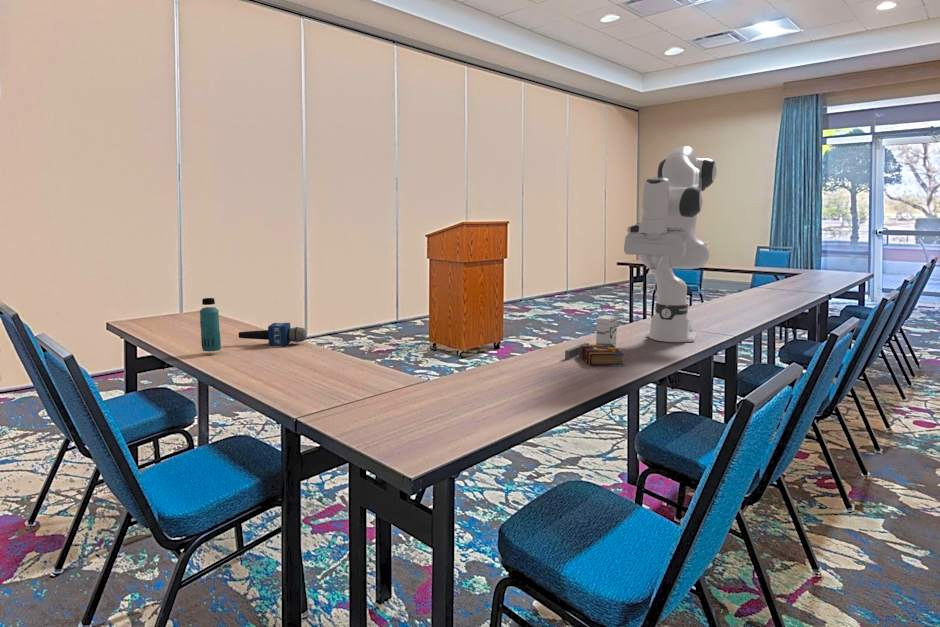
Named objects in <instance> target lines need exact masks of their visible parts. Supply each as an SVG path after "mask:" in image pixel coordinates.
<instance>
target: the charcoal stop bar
mask: <svg viewBox="0 0 940 627" xmlns="http://www.w3.org/2000/svg"><path fill="white" fill-rule="evenodd" d="M581 345H590V343H589V342H584V343H581V344H577V345H576V346H573V347H570V348H568V349H566V350H564V360H568V359H569V360H571V358H572V359H573V357H574V358H576V357H579V356H581V355H580V354H581ZM578 355H579V356H578Z"/></svg>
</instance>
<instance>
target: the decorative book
mask: <svg viewBox="0 0 940 627" xmlns="http://www.w3.org/2000/svg"><path fill="white" fill-rule="evenodd" d="M580 345H581V344H580ZM624 355H625V353H624V352H622V351H621V350H620V349H619V347H615V346H614V345H613V344H601V345H596V344H589V345H581V355H580V356H581V359H582V360H584V361H585V363H586V364H587V365H589V366H612V367H616V366H617V367H619V366H618V365H623V366H624V363H623V358H622V357H623V356H624ZM614 365H615V366H614Z"/></svg>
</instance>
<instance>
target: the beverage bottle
mask: <svg viewBox="0 0 940 627" xmlns="http://www.w3.org/2000/svg"><path fill="white" fill-rule="evenodd" d="M201 302H202V306H203V305H204V306H206V307H203V308H201V309H200V310H199V320H200V321H199V324H200V327H199V328H200V340H201V342H200V343H201V349H202V350H201V351H203V352H207V353H208V352H209V353H210V352H218V351H220V350H221V348H222V346H221V343H222V342H221V333H220V331H221V330H220V329H221V328H220V314H219V311H220V310H219V309H218V308H217V307H215V306H211V305H215V304H216V302H215V298H213V297H205V298H202V301H201ZM207 305H208V306H209V305H210V306H209V307H208V306H207Z"/></svg>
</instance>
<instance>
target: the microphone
mask: <svg viewBox="0 0 940 627" xmlns="http://www.w3.org/2000/svg"><path fill="white" fill-rule="evenodd" d="M238 338H239V339H245V340H246V339H248V340H249V339H250V340H264V341H265V340H268V347H269V346H281V347H288V346H289V345H290V344H291V343H292V342H293V343H302V342H304V341H305V340H307V330H306V328H304V327H298V326H295V327H291V322H273V323H271V324H269V325H268V326H267V329H266V330H250V331H249V330H248V331H239V332H238ZM290 342H291V343H290ZM289 343H290V344H289Z"/></svg>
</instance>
